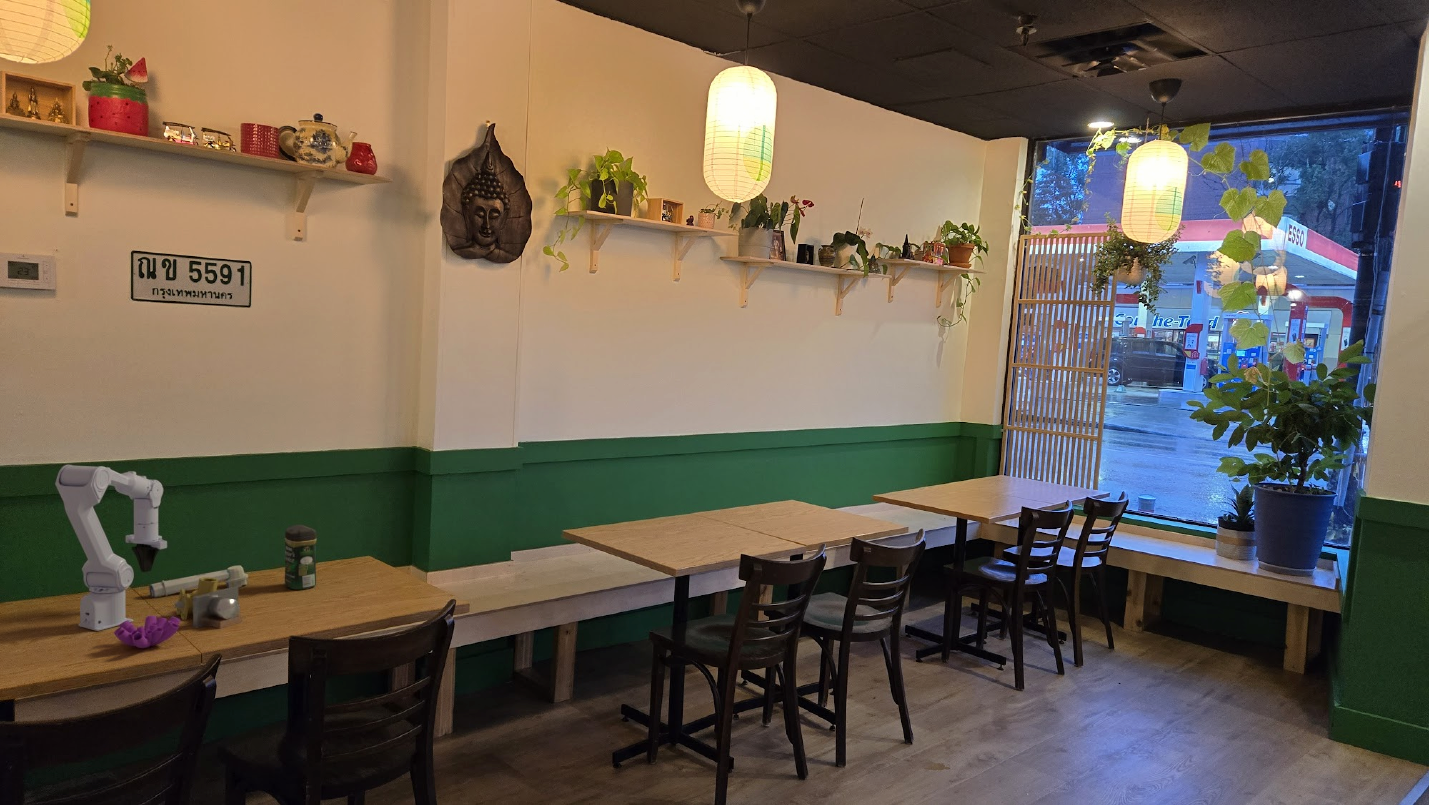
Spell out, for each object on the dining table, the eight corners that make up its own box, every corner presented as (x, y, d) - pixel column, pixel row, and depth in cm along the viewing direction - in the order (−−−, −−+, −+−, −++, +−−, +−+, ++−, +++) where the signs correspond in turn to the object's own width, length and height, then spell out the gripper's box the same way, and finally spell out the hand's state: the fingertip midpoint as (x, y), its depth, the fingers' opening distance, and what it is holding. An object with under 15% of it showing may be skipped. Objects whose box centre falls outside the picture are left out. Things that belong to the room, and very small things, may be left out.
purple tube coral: (112, 665, 221) (100, 628, 224) (177, 648, 234) (165, 614, 236) (131, 645, 216) (118, 608, 218) (196, 629, 228) (183, 595, 231)
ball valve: (207, 609, 258) (166, 611, 251) (213, 573, 258) (173, 573, 250) (222, 624, 249) (180, 626, 242) (228, 586, 249) (187, 587, 241)
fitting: (210, 631, 238) (210, 601, 237) (193, 627, 240) (193, 597, 240) (251, 619, 249) (251, 590, 248) (233, 615, 251) (234, 586, 251)
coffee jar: (280, 585, 282) (281, 525, 280) (307, 581, 287) (307, 522, 286) (292, 592, 275) (293, 530, 273) (319, 587, 280) (320, 527, 279)
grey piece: (147, 582, 266) (242, 559, 282) (151, 604, 267) (246, 580, 283) (151, 586, 262) (247, 563, 278) (155, 609, 263) (250, 584, 279)
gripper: (177, 523, 255) (177, 571, 256) (143, 517, 261) (143, 564, 262) (152, 527, 248) (152, 577, 249) (118, 521, 254) (118, 569, 255)
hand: (146, 571), depth 255 cm, fingers closed
